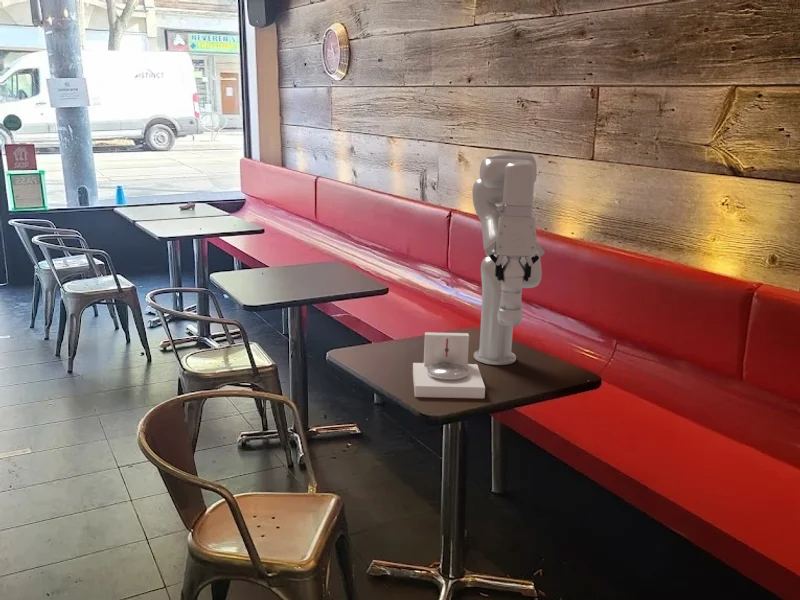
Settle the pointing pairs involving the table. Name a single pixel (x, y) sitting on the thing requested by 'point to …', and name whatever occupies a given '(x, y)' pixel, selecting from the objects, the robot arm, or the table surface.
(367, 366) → the table surface
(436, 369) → the scale pan
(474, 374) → the scale
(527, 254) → the robot arm
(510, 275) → the plastic bottle
